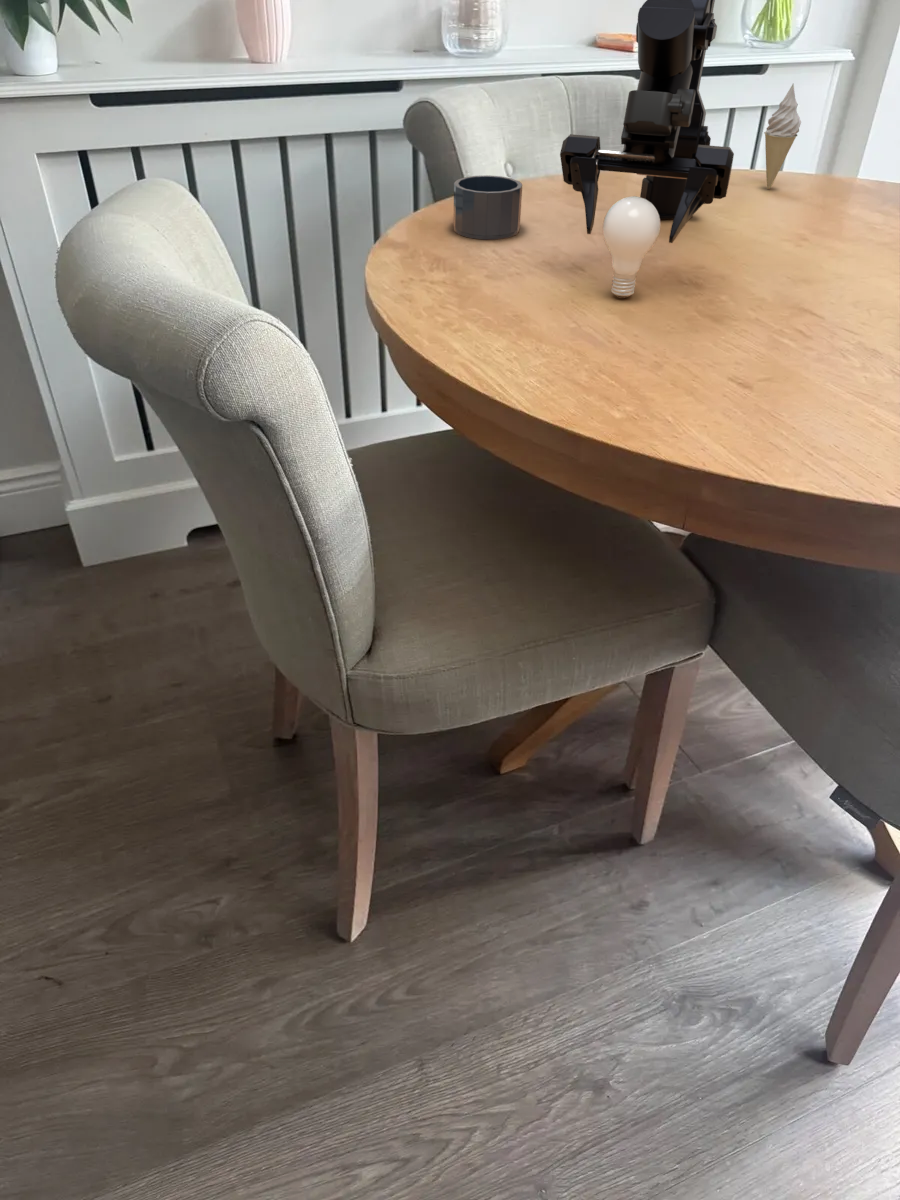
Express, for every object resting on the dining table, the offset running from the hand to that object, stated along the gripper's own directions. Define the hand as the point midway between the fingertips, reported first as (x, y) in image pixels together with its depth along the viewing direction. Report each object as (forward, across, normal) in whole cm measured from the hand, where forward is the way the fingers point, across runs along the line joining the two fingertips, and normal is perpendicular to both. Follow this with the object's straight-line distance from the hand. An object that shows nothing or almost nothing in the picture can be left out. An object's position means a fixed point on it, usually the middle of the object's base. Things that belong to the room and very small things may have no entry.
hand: (629, 236), depth 97 cm
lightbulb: (+4, 0, +6) cm, 7 cm away
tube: (-10, -22, +20) cm, 32 cm away
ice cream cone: (-37, +14, +47) cm, 61 cm away
